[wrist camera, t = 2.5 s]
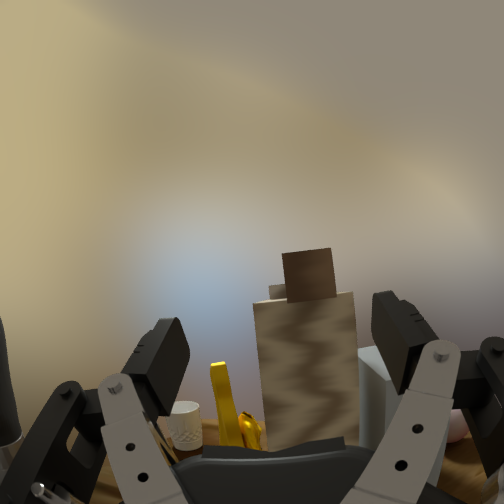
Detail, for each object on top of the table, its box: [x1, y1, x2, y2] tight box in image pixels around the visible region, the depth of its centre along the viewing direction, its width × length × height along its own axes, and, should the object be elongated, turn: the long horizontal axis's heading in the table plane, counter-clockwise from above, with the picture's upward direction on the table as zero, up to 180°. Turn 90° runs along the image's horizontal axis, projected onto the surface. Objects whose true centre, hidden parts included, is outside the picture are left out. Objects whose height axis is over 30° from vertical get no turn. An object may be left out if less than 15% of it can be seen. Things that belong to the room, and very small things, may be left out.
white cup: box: [165, 401, 203, 451], centre depth 52 cm, size 8×8×10 cm
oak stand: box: [253, 292, 360, 452], centre depth 34 cm, size 10×18×32 cm, turn 173°
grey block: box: [358, 346, 451, 487], centre depth 32 cm, size 9×18×22 cm, turn 173°
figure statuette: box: [210, 362, 262, 451], centre depth 44 cm, size 18×8×22 cm, turn 12°
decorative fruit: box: [446, 409, 470, 443], centre depth 33 cm, size 9×8×10 cm
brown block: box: [269, 248, 337, 304], centre depth 32 cm, size 8×28×3 cm, turn 173°
